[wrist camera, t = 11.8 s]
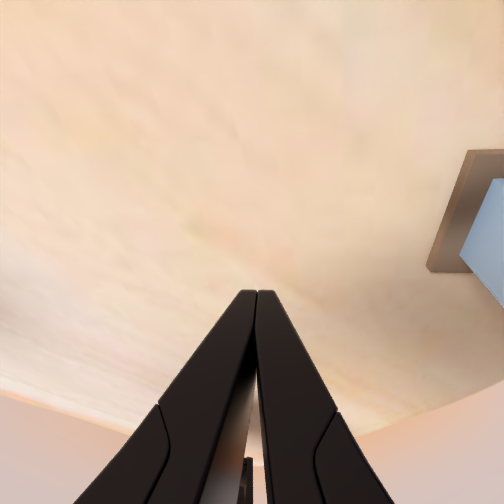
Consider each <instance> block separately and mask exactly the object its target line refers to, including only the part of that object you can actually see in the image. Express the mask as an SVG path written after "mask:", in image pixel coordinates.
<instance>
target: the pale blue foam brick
mask: <svg viewBox="0 0 504 504" xmlns="http://www.w3.org/2000/svg"><path fill="white" fill-rule="evenodd" d="M459 256H460V257H461V258H462V259H463V260H464V262H465V263H466V264H467V265H468V266H469V267H470V269H471V270H472V271H473V272H474V273H475V275H476V276H477V277H478V278H479V279H480V281H481V282H482V283H483V284H484V285H485V286H486V288H487V289H488V290H489V291H490V292H491V294H492V295H493V296H494V297H495V298H496V299H497V301H498V302H499V303H500V304H501V305H502V307H503V308H504V178H497V179H493V181H492V183H491V185H490V187H489V189H488V192H487V194H486V196H485V198H484V201H483V203H482V205H481V207H480V210H479V212H478V214H477V216H476V218H475V221H474V223H473V225H472V227H471V230H470V232H469V234H468V236H467V239H466V241H465V243H464V245H463V247H462V250H461V252H460V254H459Z"/></svg>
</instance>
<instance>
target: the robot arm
mask: <svg viewBox="0 0 504 504" xmlns="http://www.w3.org/2000/svg"><path fill="white" fill-rule="evenodd" d="M256 372H257V388H258V400H259V412H260V423H261V435H262V447H263V458H264V469H265V481H266V493H267V504H395V503H394V502H393V500H392V499H391V497H390V496H389V494H388V492H387V491H386V489H385V488H384V486H383V485H382V483H381V482H380V480H379V478H378V477H377V475H376V474H375V472H374V471H373V469H372V468H371V466H370V464H369V463H368V461H367V459H366V458H365V456H364V454H363V452H362V451H361V449H360V448H359V445H358V444H357V442H356V440H355V439H354V437H353V435H352V433H351V432H350V430H349V428H348V426H347V424H346V422H345V420H344V419H343V417H342V415H341V413H340V412H337V411H338V408H337V406H336V404H335V402H334V400H333V399H332V397H331V395H330V393H329V391H328V389H327V387H326V386H325V384H324V382H323V380H322V378H321V376H320V374H319V372H318V371H317V369H316V367H315V365H314V363H313V361H312V359H311V358H310V356H309V354H308V352H307V350H306V348H305V346H304V345H303V343H302V341H301V339H300V337H299V335H298V333H297V332H296V330H295V328H294V326H293V324H292V322H291V320H290V319H289V317H288V315H287V313H286V311H285V309H284V307H283V306H282V304H281V302H280V300H279V298H278V296H277V294H276V293H275V291H273V290H259V291H258V293H257V291H256V290H241V291H240V292H239V293H238V294H237V296H236V297H235V298H234V300H233V301H232V302H231V304H230V305H229V306H228V308H227V309H226V310H225V312H224V313H223V314H222V316H221V317H220V318H219V320H218V321H217V322H216V324H215V325H214V326H213V328H212V329H211V330H210V332H209V333H208V334H207V336H206V337H205V338H204V340H203V341H202V343H201V344H200V345H199V347H198V348H197V349H196V351H195V352H194V353H193V355H192V356H191V357H190V359H189V360H188V361H187V363H186V364H185V365H184V367H183V368H182V369H181V371H180V372H179V373H178V375H177V376H176V377H175V379H174V380H173V381H172V383H171V384H170V385H169V387H168V388H167V389H166V391H165V392H164V394H163V395H162V396H161V398H160V399H159V400H158V404H159V405H158V404H155V405H154V407H153V408H152V409H151V411H150V412H149V413H148V415H147V416H146V417H145V419H144V420H143V421H142V423H141V424H140V425H139V427H138V428H137V429H136V430H135V432H134V433H133V434H132V436H131V437H130V438H129V440H128V441H127V442H126V443H125V444H124V446H123V447H122V448H121V449H120V451H119V452H118V453H117V454H116V455H115V456H114V458H113V459H112V460H111V461H110V462H109V463H108V464H107V466H106V467H105V468H104V469H103V470H102V472H101V473H100V474H99V475H98V476H97V477H96V478H95V480H94V481H93V482H92V483H91V484H90V485H89V486H88V487H87V489H86V490H85V491H84V492H83V493H82V494H81V495H80V496H79V497H78V499H77V500H76V501H75V502H74V503H73V504H253V458H251V457H247V458H244V453H245V447H246V441H247V434H248V428H249V422H250V415H251V409H252V403H253V396H254V390H255V383H256Z"/></svg>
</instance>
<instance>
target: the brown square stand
mask: <svg viewBox="0 0 504 504" xmlns="http://www.w3.org/2000/svg"><path fill="white" fill-rule="evenodd" d="M497 178H504V149H494V150H468V152H467V154H466V157H465V160H464V162H463V165H462V168H461V171H460V173H459V176H458V179H457V182H456V184H455V187H454V190H453V192H452V195H451V198H450V201H449V203H448V206H447V209H446V212H445V214H444V217H443V220H442V222H441V225H440V228H439V231H438V233H437V236H436V239H435V242H434V244H433V247H432V250H431V252H430V255H429V258H428V261H427V263H426V266H427V268H428V269H429V271H430V272H446V273H474V272H473V271H472V270H471V269H470V267H469V266H468V265H467V264H466V263H465V262H464V260H463V259H462V258H461V257H460V256H459V254H460V252H461V250H462V247H463V245H464V243H465V241H466V239H467V236H468V234H469V232H470V230H471V227H472V225H473V223H474V221H475V218H476V216H477V214H478V212H479V210H480V207H481V205H482V203H483V201H484V198H485V196H486V194H487V192H488V189H489V187H490V185H491V183H492V181H493V179H497Z"/></svg>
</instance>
